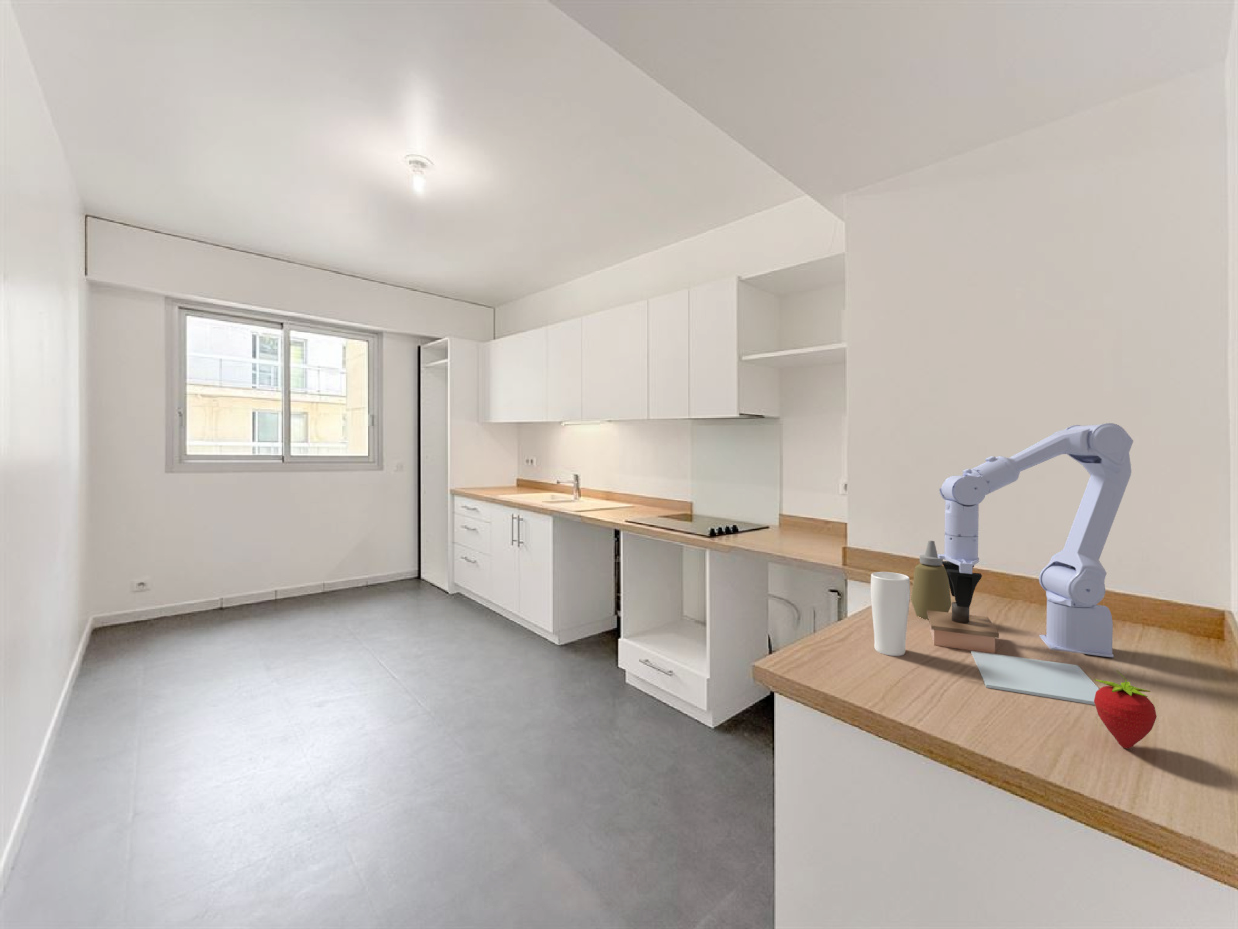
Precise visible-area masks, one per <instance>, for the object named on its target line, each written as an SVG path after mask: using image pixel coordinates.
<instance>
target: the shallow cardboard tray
mask: <svg viewBox="0 0 1238 929" xmlns="http://www.w3.org/2000/svg"><path fill="white" fill-rule="evenodd" d="M929 631H930V632H929V633H930V636H931V639H932V643H933V646H936V647H937V646H938V647H946V648H953V649H959V650H965V651H977V652H984V653H992V654H996V638H995V637H987V636H979V635H971V634H963V633H955V632H947V631H939V630H931V626H930V625H929Z"/></svg>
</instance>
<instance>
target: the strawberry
mask: <svg viewBox="0 0 1238 929" xmlns="http://www.w3.org/2000/svg"><path fill="white" fill-rule="evenodd" d="M1115 670H1116V672H1117V673H1118V674H1119V675H1120V676H1121V677H1122V678H1123V679H1124V680H1125V681H1123V682H1122V681H1121V682H1120V684H1119V683H1116V682H1114V681H1107V680H1101V679H1094V681H1096V682H1098V683H1100V684H1104V686H1102V687H1100V688H1099V690H1097V691H1096V694H1095V698H1094V703H1095V705H1094V707H1095V708H1096V712H1097V715H1098V717H1099V719H1100V720H1101V722H1102V723H1103V724H1104V726H1105V728H1106V729H1107V730H1108V731H1109V733H1110V734H1111V735H1112V736H1113V737H1114V739H1115V741H1117V743H1118V744H1119V745H1120V746H1121V747H1122V748H1123V749H1131V748H1133V747H1134V745H1136V744H1137V743H1139V742H1140V741H1142V740H1143V739H1144V738H1145V737H1146V736H1147V735H1148V734H1149V733H1150V732H1151V731H1152V730H1153V728H1154V725H1155V723H1156V720H1157V711H1156V707H1155V705H1154V704H1153V702H1152V701H1151V700H1150V699H1149V698H1148V695H1146V694H1144V693H1145V692H1146V693H1150V692H1151V690H1148V689H1144V688H1139V687H1137V686H1133V685H1131V683H1130V681H1127V680H1128V679H1127V678H1126V677H1124V676H1123V675H1122V674H1121V673H1120V672H1119V671H1118V670H1117V669H1115Z"/></svg>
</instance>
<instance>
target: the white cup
mask: <svg viewBox="0 0 1238 929" xmlns="http://www.w3.org/2000/svg"><path fill="white" fill-rule="evenodd" d="M910 583H911V579H910V576H908V575H906V574H903V573H899V572H898V573H897V572H892V571H891V572H890V571H874V572H872V573H871V574H870V602H871V603H870V604H871V614H872V615H871V617H872V623H873V624H872V625H873V626H872V627H873V639H874V640H873V643H874V646H873V647H874V649H875V651H876V652H877V653H880V654H881V655H886V656H889V657H901V656H903V655H905V653H906V641H907V630H908V621H909V612H910V611H909V609H910V601H911V584H910Z"/></svg>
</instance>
